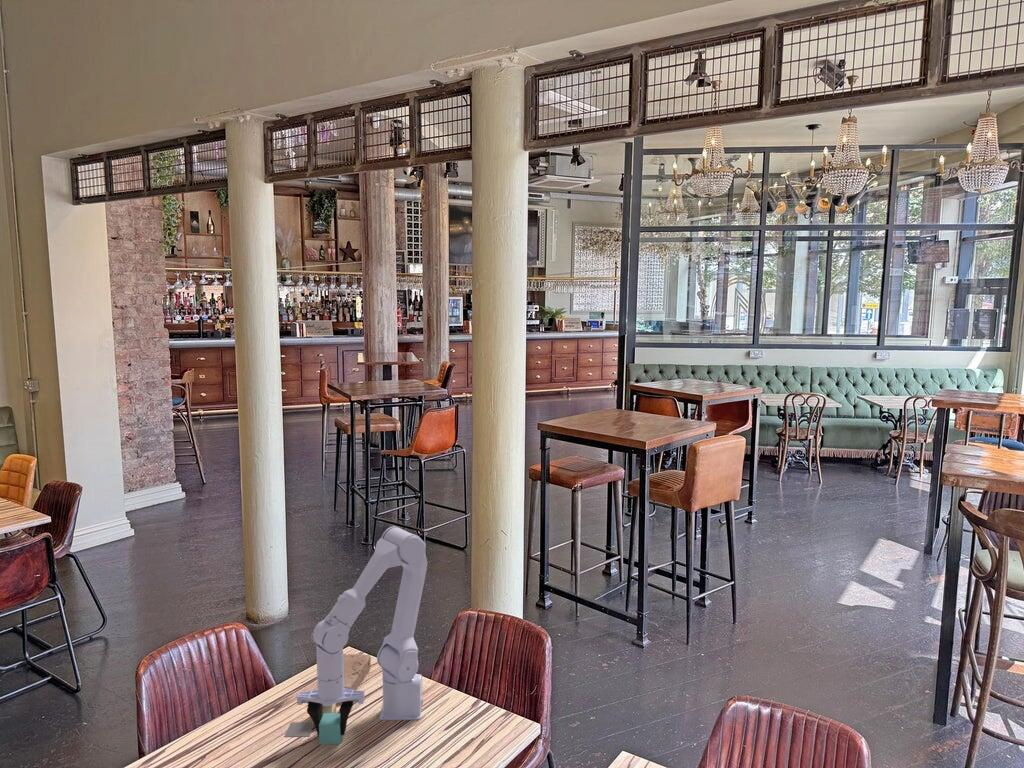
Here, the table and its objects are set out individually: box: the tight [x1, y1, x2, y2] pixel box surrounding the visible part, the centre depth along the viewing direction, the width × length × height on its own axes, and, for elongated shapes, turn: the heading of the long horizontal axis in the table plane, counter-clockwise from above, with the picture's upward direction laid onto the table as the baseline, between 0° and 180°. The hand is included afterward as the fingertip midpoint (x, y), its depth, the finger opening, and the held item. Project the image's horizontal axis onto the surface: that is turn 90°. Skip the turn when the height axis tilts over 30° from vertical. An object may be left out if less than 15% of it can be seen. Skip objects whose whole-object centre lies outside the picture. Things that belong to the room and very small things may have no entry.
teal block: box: [318, 712, 344, 745], centre depth 155 cm, size 4×4×4 cm
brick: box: [343, 653, 372, 691], centre depth 179 cm, size 17×8×5 cm, turn 172°
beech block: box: [311, 703, 337, 723], centre depth 163 cm, size 4×4×4 cm
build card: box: [283, 721, 315, 738], centre depth 159 cm, size 14×13×1 cm
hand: (331, 732), depth 155 cm, fingers closed on teal block, 4 cm apart
